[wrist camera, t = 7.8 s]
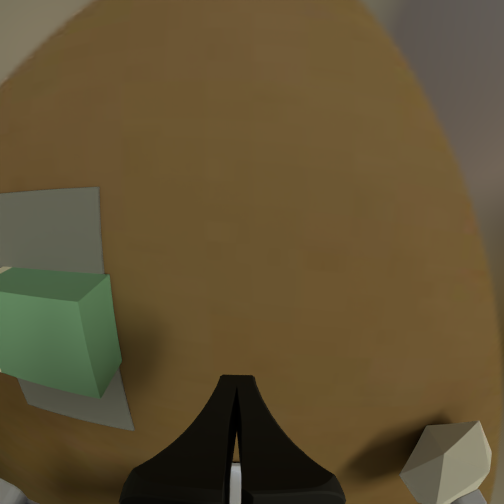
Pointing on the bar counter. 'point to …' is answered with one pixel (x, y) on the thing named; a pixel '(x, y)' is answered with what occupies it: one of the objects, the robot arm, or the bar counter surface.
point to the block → (58, 329)
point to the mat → (60, 259)
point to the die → (447, 462)
